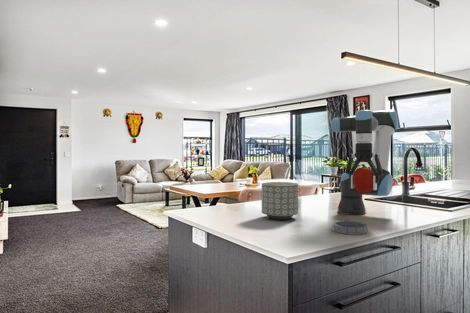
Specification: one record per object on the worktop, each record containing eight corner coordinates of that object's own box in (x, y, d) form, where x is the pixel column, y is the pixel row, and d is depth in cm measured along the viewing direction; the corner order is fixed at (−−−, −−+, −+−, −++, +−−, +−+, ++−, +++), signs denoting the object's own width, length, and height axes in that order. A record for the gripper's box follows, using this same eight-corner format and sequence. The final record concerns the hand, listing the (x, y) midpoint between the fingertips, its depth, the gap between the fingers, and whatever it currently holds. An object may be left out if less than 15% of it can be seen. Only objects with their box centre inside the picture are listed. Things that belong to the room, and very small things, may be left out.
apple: (364, 195, 155) (364, 165, 155) (347, 193, 164) (347, 164, 164) (379, 194, 160) (379, 164, 160) (362, 191, 169) (362, 164, 169)
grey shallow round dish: (327, 231, 148) (327, 224, 148) (341, 225, 158) (341, 219, 158) (359, 236, 138) (359, 229, 138) (371, 230, 149) (371, 223, 149)
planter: (302, 216, 181) (302, 182, 181) (292, 223, 164) (292, 186, 164) (268, 213, 189) (268, 181, 189) (256, 220, 172) (256, 184, 172)
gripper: (337, 143, 166) (337, 188, 167) (385, 142, 151) (385, 191, 152) (344, 143, 172) (344, 186, 173) (391, 142, 157) (391, 190, 157)
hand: (363, 189), depth 162 cm, fingers closed on apple, 10 cm apart
